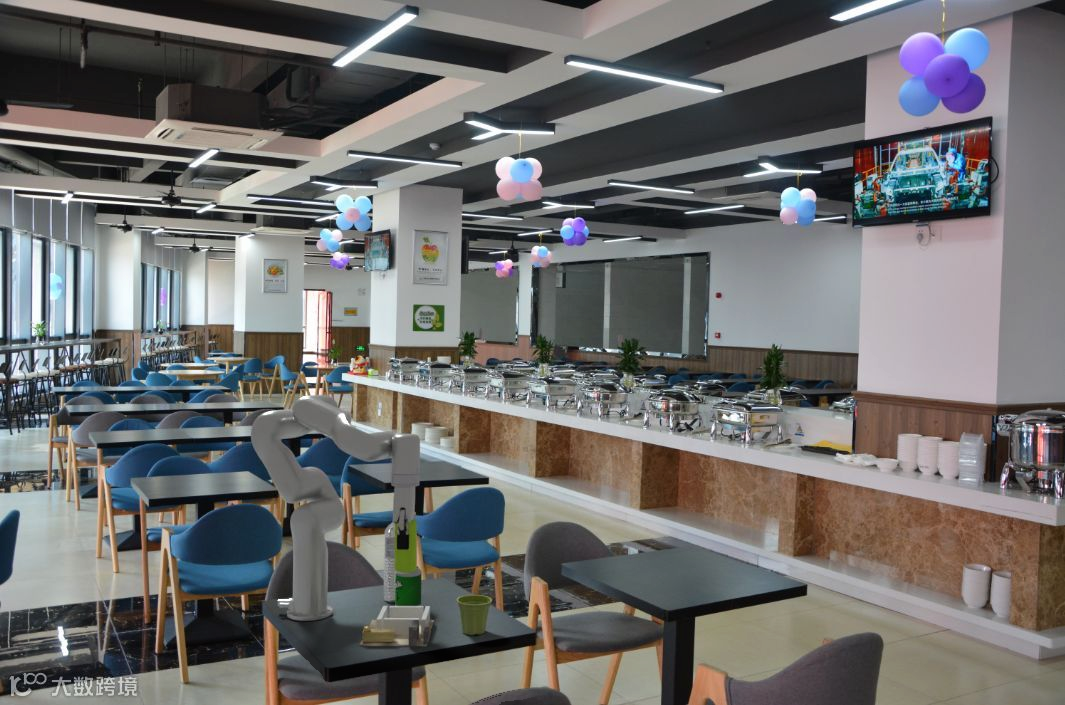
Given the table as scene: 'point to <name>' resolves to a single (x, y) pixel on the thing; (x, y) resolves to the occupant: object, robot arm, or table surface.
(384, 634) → the tan rectangular block
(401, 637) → the base board
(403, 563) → the soap dispenser
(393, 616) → the dock
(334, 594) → the table surface
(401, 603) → the soda can
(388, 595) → the water bottle
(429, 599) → the table surface
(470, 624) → the plant pot
